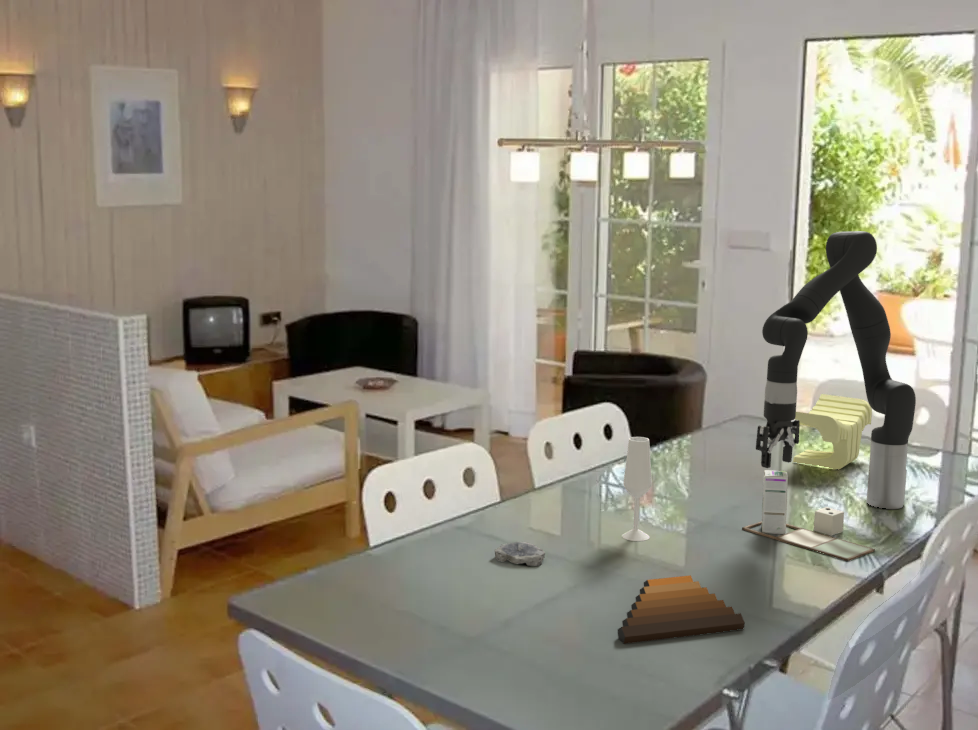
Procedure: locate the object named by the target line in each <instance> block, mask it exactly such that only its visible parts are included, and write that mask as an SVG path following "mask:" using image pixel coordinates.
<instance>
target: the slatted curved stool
mask: <svg viewBox="0 0 978 730" xmlns="http://www.w3.org/2000/svg"><path fill="white" fill-rule="evenodd" d="M872 414H873V409H872V408H871V407H870V405H869V403H868V400H865V399H862V398H855V397H848V396H840V395H833V394H825V393H820V396H819V398H818V399H817V401H816V403H815V405H814V406H813V407H812V408H811V410H810V411H809V412H803V411H802V412H801V411H796V417H795V420H799V421H800V425H801V426H806V427H809V428H813V429H816V430H817V431H818V433H819V434H820V435H821V439H822V442H825V443H832V444H831V445H832V447H833V451H822V450H821V451H820V450H814V449H813V450H812V449H808V448H807V449H805V450H804V451H802V452H800V453H798V454H797V455H794V457H793V461H792V463H793V462H797V463H805V464H812V465H819V466H824V467H829V468H833V469H838V470H840V469H843V468H844V467H846V466H847V465H849V464H850V463H852V462H854V461H855V460H856V459H858V457H859V454H860V447H861V443H862V435H863V431H864V430H865V428H866V426H868V425H872V416H873V415H872ZM838 470H837V471H838Z"/></svg>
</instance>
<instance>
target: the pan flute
mask: <svg viewBox="0 0 978 730" xmlns="http://www.w3.org/2000/svg"><path fill="white" fill-rule="evenodd" d="M630 606H631V609H629V611H628V612H626V618H624V619H622V621H621V622H622V626H621V627H619V628H617V638H618V640H619V641H620V642H621V643H622V644H624V645H625V644H634V643H635V644H636V643H643V642H650V641H658V640H668V639H675V638H674V637H677V638H684V636H686V637H693V635H694V636H699V635H700V634H703V635H708V634H707V633H711V634H717V633H716V632H720V633H724V632H723V631H728V632H731V631H730V630H736V631H738V630H737V629H743V628H744V629H745V625H746V622H745V620H744V617H743V615H742V613H741V612H739V613H735V611H734V608H733V606H726V603H725V601H724V599H719V600H718V598H717V596H716V593H710V592H709V589H708V587H705V586H704V587H702V586H701V583H700V581H699V580H698V581H697V580H696V581H694V580H693V577H692V575H691V574H690V575H682V576H672V577H663V578H662V577H661V578H653V579H652V578H651V579H646V580H645V581H643V587H641V588H640V589H639V594H638V595H636V597H635V602H633V603H632V604H631V605H630ZM744 629H743V630H744ZM700 636H701V635H700Z"/></svg>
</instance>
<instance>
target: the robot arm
mask: <svg viewBox="0 0 978 730" xmlns="http://www.w3.org/2000/svg"><path fill="white" fill-rule="evenodd" d="M877 251H878V244H877V240H876V239H875V236H874V235H873V234H872V233H870V232H868V231H864V230H853V231H851V230H849V231H837V232H833V233H832V234H830V235H829V236H828V238H827V240H826V243H825V254H826V259H827V262H828V265H829V268H828V269H826V270H825V271H823V272H822V273H820V274H818V275H817V276H815V277H813V278H812V279H811V280H809V281H808V282H806V284H805V285H803V286H802V288H801V289H799V291H798V292H797V293H796V294H795V296H793V298H792V299H791V301H789V302H787V303H785V304H784V305H783V306H781V307H780V308H779V309H776V311H774V312H773V313H771V314H770V315H769V316H768V317H767V318H766V320H765V322H764V323H763V326H762V331H761V333H762V337H763V340H764V341H765V342H766V343H768V344H769V345H773V346H774V345H775V346H780V347H784V350H783V351H782V354H777V355H772V356H770V357H769V359H768V360H767V370H766V383H765V388H764V401H763V418H765V420H766V425H757V429H756V430H757V431H756V439H755V440H756V443H755V450H756V451H760V452H761V459H760V461H761V462H760V464H761V467H762V468H765V469H769V468H771V465H772V464H771V463H772V451H773V449H774V446H775V447H776V446H777V444H778V442H781V443H782V444H783V447H782V456H781V459H782V461H783V462H784V463H788V464H789V463H792V462H793V461H792V459H793V448H794V447H795V446H796V445H798V444H799V443H800V421H799V420H795V417H796V412H797V402H798V401H797V400H798V398H797V397H798V371H799V363H800V360H801V357H802V354H803V351H804V349H805V345H806V343H807V340H808V336H809V335H808V333H809V331H808V326H807V325H806V324H809V323H811V322H813V321H814V320H815V319H816V318H817V316H818V315H819V314H820V313H821V312H822V311H823V310H824V308H825V307H826V306H827V304H828V303H829V302H830V301H831V300H832V299H833V298H834V297H835V295H837V294H838V293H840V297H841V298H842V303H843V305H844V309H845V311H846V316H847V319H848V324H849V328H850V331H851V334H852V337H853V340H854V343H855V347H856V351H857V354H858V355H857V356H858V359H859V361H860V362H859V363H860V366H861V370H862V375H863V382H864V387H865V388H864V389H865V394H866V401H867V402H868V403H869V405H870V407H871V409H872V411H874V412H876V413H879V414H882V415H884V418H883V419H884V420H883V424H882V425H881V426H877V427H874V428H873V429H872V430H871V433H870V434H871V435H870V436H871V437H870V448H869V449H870V450H869V451H870V452H869V460H868V461H869V462H868V464H869V465H868V475H867V476H868V477H867V491H866V501H865V502H866V504H867V503H868V504H869V506H870V505H871V506H870V507H873V506H874V507H873V508H877V507H879V508H878V509H882V508H886V509H885V510H897V509H902V508H903V506H904V504H905V497H906V496H905V495H906V483H907V474H908V473H907V471H908V470H907V462H908V461H907V460H908V450H909V449H908V448H909V447H908V446H909V439H910V438H909V437H910V436H911V434H912V431H913V427H914V426H913V425H914V420H915V419H914V418H915V411H916V404H917V403H916V401H917V400H916V399H917V398H916V393H915V390H914V388H913V387H912V385H909V384H907V383H904V382H901V381H897V380H894V379H892V376H891V374H890V371H889V369H888V368H889V367H888V364H887V358H886V357H887V353H888V348H889V346H890V341H891V334H892V333H891V329H890V327H891V326H890V324H889V319H888V316H887V313H886V310H885V308H884V306H883V304H882V303H881V302H880V301H879V299H877V297H876V296H875V295H874V293H872V292H871V291H870V289H868V288H867V286H866V285H865V284H864V283H863V281H862V279H861V278H860V276H859V275H860V274H861V273H862V272H864V271H865V270H866V269H867V268H868V267H869V266H870V265H871V264H872V263H873V261H874V260H875V258H876V255H877ZM793 435H794V436H793ZM761 442H762V443H761ZM868 504H867V505H868Z"/></svg>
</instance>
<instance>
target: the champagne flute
mask: <svg viewBox="0 0 978 730" xmlns="http://www.w3.org/2000/svg"><path fill="white" fill-rule="evenodd" d="M627 445H628V446H627V454H626V459H625V461H626V462H625V469H624V477H623V486H624V489H625V490H626V491H627V493H628V494H629V495H630V496H631V497H633V498H634V507H633V508H634V509H633V528H632V529H630V530H628V531H626V532H625V533H622V535H621V538H623V539H624V540H627V541H631V542H643V541H647V540H649V539H650V538H651V537H650V535H649V534H647V533H646V532H645V531H642V530H641V529H639V524H640V523H639V521H640V519H639V518H640V498H642V497H644V496H645V495H646V494H647V493H648V492H649V491H650V489H651V488H652V485H653V482H652V466H651V447H650V445H651V444H650V439H649V438H648V437H644V436H632V437H629V438H628V444H627Z"/></svg>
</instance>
